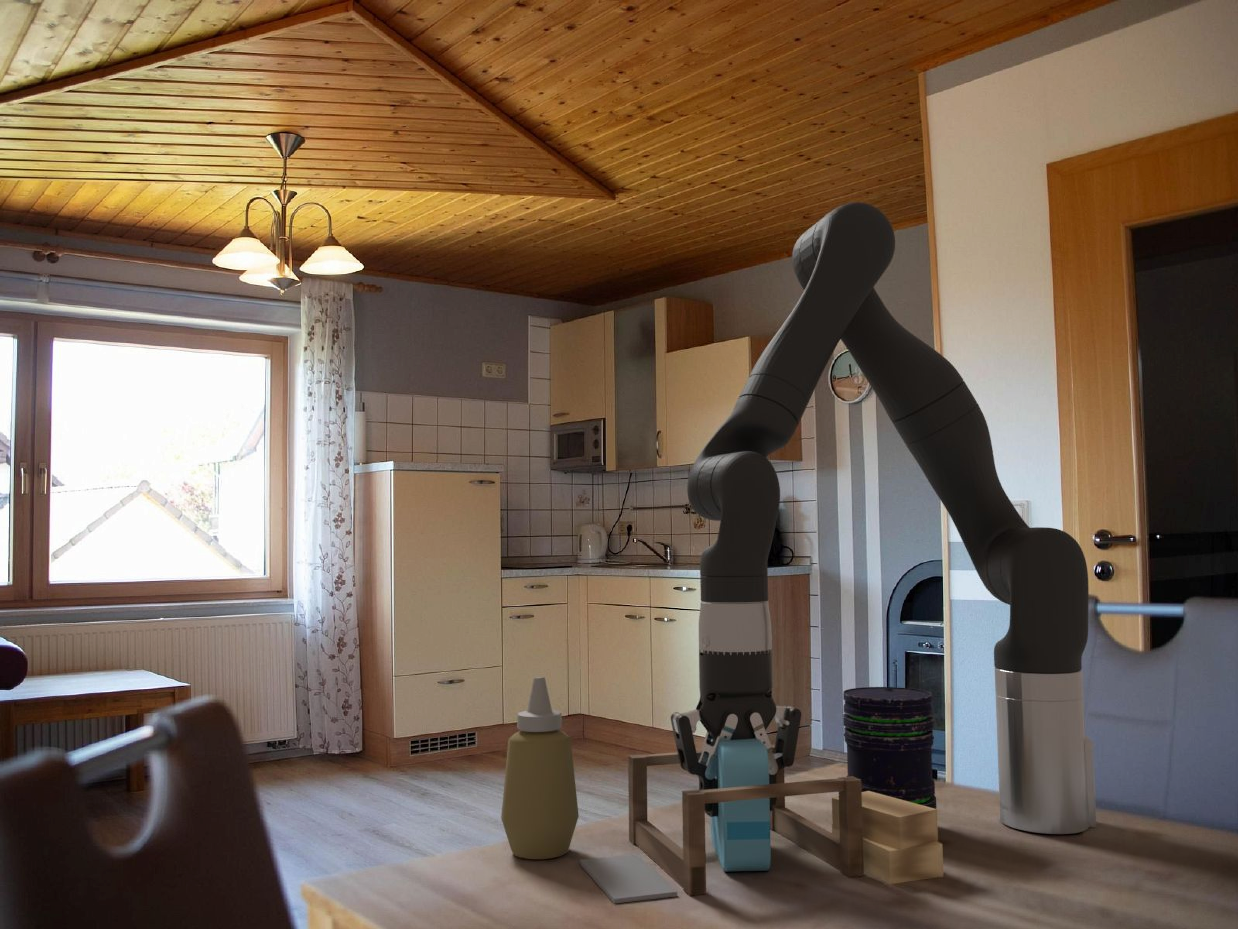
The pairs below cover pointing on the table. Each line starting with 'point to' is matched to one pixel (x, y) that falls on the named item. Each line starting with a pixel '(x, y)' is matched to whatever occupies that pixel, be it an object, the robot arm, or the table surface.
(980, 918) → the table surface
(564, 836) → the squeeze bottle
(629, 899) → the mat
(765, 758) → the blue rounded block
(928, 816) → the offcut upper
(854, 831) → the frame
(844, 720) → the dark navy cylinder
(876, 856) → the offcut lower
